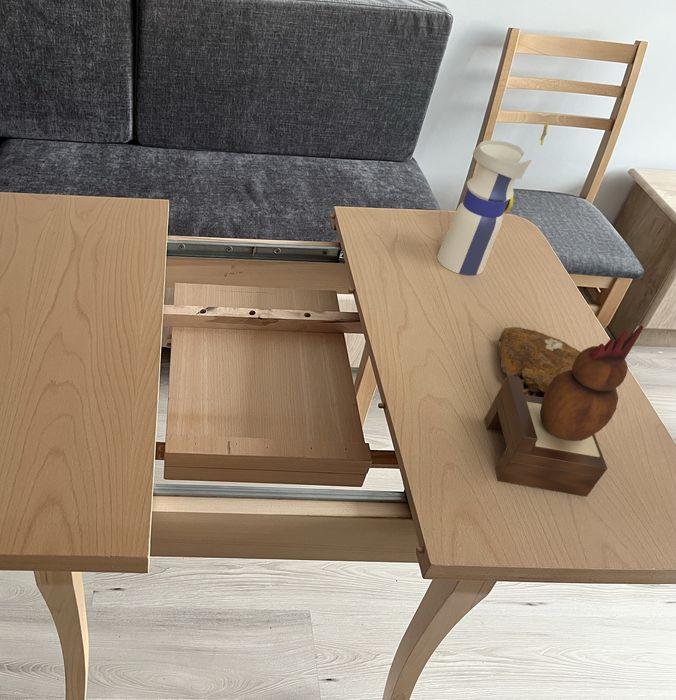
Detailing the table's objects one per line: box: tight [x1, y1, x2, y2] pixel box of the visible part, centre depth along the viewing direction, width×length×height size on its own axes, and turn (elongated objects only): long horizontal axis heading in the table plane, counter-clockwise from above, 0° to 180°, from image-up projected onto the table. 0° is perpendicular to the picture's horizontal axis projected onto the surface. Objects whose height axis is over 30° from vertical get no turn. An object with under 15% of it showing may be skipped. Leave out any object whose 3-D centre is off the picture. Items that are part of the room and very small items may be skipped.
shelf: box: [484, 374, 608, 497], centre depth 80 cm, size 10×10×8 cm
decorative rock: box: [497, 326, 582, 397], centre depth 92 cm, size 11×4×15 cm
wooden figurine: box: [540, 325, 645, 441], centre depth 74 cm, size 7×6×15 cm
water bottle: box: [436, 120, 550, 276], centre depth 106 cm, size 8×9×25 cm
